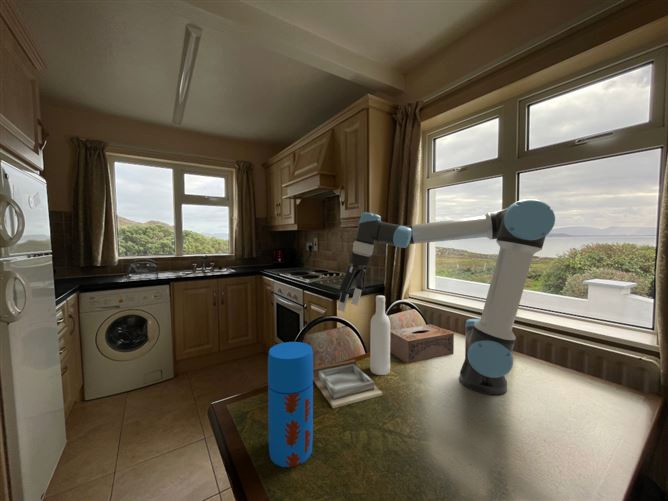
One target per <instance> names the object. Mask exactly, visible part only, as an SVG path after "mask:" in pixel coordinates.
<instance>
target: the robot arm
mask: <svg viewBox="0 0 668 501" xmlns="http://www.w3.org/2000/svg"><path fill="white" fill-rule="evenodd" d="M555 223H556V215H555V212H554V210H553V209H552V208H551V206H550V205H548V203H546V202H545V201H542V200H540V199H535V198H532V199H531V198H528V199H521V200H518V201H515V202H514V203H511V205H509V206H508V207H506V208H504V209H500V210H497V211H492V212H491V211H490V212H487V213H486V214H485V215H481V216H474V217H466V218H458V219H457V218H456V219H449V220H448V219H447V220H443V221H442V220H441V221H436V222H435V221H433V222H425V223H418V224H411V225H409V224H408V225H400V224H394V223H390V222H386V221H382V216H380V215H379V214H375V213H371V212H362V213H361V215H360V218H359V221H358V225H357V230H356V233H355V238H354V242H353V243H352V246H353V247H352V252H351V254H350V259H349V262H351V263H352V266H351V265H348V266H347V271H346V273H345V276H344V278H343V281H342V283H341V285H340V287H339V290H338V292H339V293H340V297H339V301H338V305H337V308H336V309H337V310H338V311H341V313H344V312H346V307H347V303H348V300H349V296H350V294H349V292H350V291H351V288H352V286H353V285H354V283H355V286H356V287H355V288H354V290H353V296H352V299H351V304H352V305H354V306H359V303H360V299H361V295H362V292H363V291H365V289H366V288H365V286H366V276H367V274H366V273H367V269H368V267H369V266H370V263H371V259H372V257H371V256H372V255H373V252H374V249H375V248H374V246H375V243H376V242H377V243H382V244H386V245H390V246H394V247H396V248H403V249H406V248H408V246H409V245H415V244H425V243H436V242H437V243H438V242H446V241H458V240H468V239H479V238H487V239H489V240H496V241H495V242H496V244H498V246H499V252H498V254H497V259H496V261H495V267H494V270H493V273H492V277H491V280H490V284H489V287H488V292H487V295H486V298H485V303H484V306H483V309H482V312H481V317H480V318H469V319H467V320H466V321H465V326H464V328H465V337H464V338H465V339H464V340H465V341H464V342H465V346H464V347H465V350H464V353H465V354H464V356H465V358H464V361H463V364H462V366H461V369H460V371H459V380H460V383H461V384H463V385H464V386H465V387H466V388H468V389H470V390H472V391H475V392H478V393H482V394H486V395H501V394H505V393H506V392H507V391H508V381H507V379H506V375H508V374H509V373H510V372H511V371H512V368H513V366H514V358H513V354H512V353H513V351H514V350H513V349H514V347H515V343H516V338H517V337H516V335H515V334H514V332H513V326H514V323H515V320H516V316H517V312H518V310H519V306H520V302H521V299H522V295H523V293H524V288H525V285H526V281H527V278H528V275H529V271H530V268H531V266H532V265H531V264H532V261H533V258H534V255H535V254H536V253H538V252H540V251H542V250H543V246H544V243H545V240H546V237H547V236H548V234H550V232H551V231H553V229H554V227H555Z"/></svg>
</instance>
